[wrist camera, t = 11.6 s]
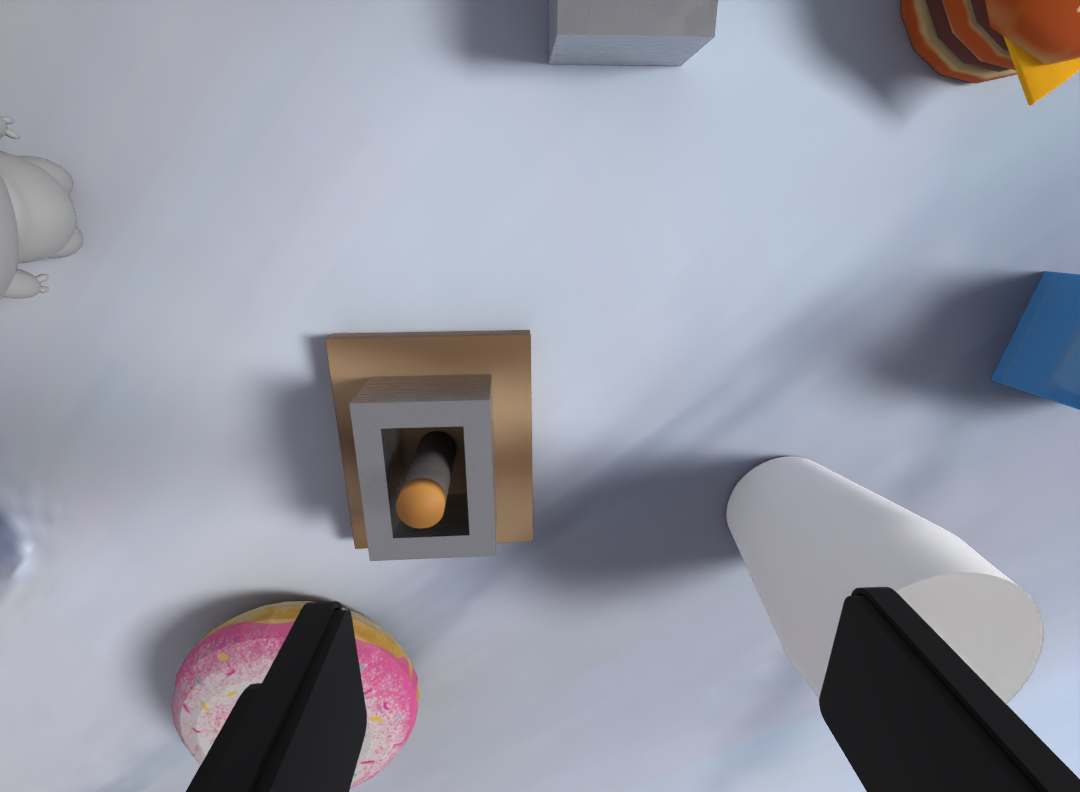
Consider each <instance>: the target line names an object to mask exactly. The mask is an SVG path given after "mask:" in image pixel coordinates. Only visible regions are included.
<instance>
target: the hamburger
mask: <svg viewBox="0 0 1080 792" xmlns="http://www.w3.org/2000/svg"><path fill="white" fill-rule="evenodd" d="M901 14H902V17H903V20H904V23H905V26H906V28H907V31H908V34H909V37H910V40H911V43H912V46H913V48H914V50H915V51H916V52H917V53H918V54H919V55H920V56H921V57H922V58H924V59H925V60H926V61H927V62H928V63H929V64H930V65H931V66H932V67H933V68H934V69H935V70H936V71H937V72H938V73H939V74H941V75H944V76H948V77H952V78H956V79H960V80H963V81H967V82H971V83H980V82H984V81H989V80H993V79H998V78H1003V77H1007V76H1012V75H1016V74H1018V77H1019V80H1020V82H1021V85H1022V88H1023V91H1024V93H1025V96H1026V99H1027V101H1028V104H1029V105H1032V104H1034V103H1035V102H1037V101H1038V100H1039V99H1041V98H1042V97H1044V96H1045V95H1047V94H1048V93H1049V92H1051V91H1052V90H1054V89H1055V88H1056V87H1058V86H1059V85H1061V84H1062V83H1064V82H1065V81H1067V80H1068V79H1069V78H1070V77H1071V76H1073V75H1074V74H1075V73H1076V72H1077V71H1079V70H1080V0H901Z"/></svg>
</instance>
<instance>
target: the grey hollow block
mask: <svg viewBox="0 0 1080 792" xmlns="http://www.w3.org/2000/svg"><path fill="white" fill-rule="evenodd" d="M717 3H718V0H549V64H566V65H650V66H681V65H682V64H684V63H685V62H686V61H687V60H688V59H689V58H691V57H692V56H693V55H694V54H695V53H696V52H697V51H699V50H700V49H701V48H702V47H703V46H704V45H706V44H707V43H708V42H709V41H710V40H711V39H713V38H714V37H715V26H716V14H717Z"/></svg>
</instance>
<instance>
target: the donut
mask: <svg viewBox="0 0 1080 792" xmlns="http://www.w3.org/2000/svg"><path fill="white" fill-rule="evenodd" d="M307 602H312V601H291V602H281V603H275V604H270V605H265V606H261V607H258V608H255V609H253V610H250V611H247V612H245V613H242V614H240V615H238V616H236V617H234V618H232V619H230V620H228V621H226V622H225V623H223V624H221V625H220V626H218V627H217V628H215V629H213V630H212V631H210V632H209V633H208V634H207V635H206V636H205V637H204V638H203V639H202V640H201V641H200V642H199V643H198V644H197V645H196V646H195V647H194V649H193V650H192V651H191V652H190V654H189V655H188V656H187V658H186V659H185V661H184V662H183V664H182V666H181V668H180V670H179V672H178V674H177V677H176V683H175V690H174V696H173V704H172V711H173V718H174V724H175V727H176V729H177V731H178V733H179V736H180V738H181V740H182V742H183V743H184V745H185V746H186V748H187V749H188V750H189V752H190V753H191V754H192V756H193V757H194V758H195V760H196V761H197V762H198V764H199V765H200V766H201V764H202V762H203V760H204V759H205V757H206V755H207V753H208V751H209V750H210V748H211V746H212V744H213V743H214V741H215V739H216V737H217V735H218V734H219V732H220V730H221V728H222V727H223V725H224V723H225V721H226V720H227V718H228V716H229V714H230V712H231V711H232V709H233V707H234V705H235V704H236V702H237V700H238V698H239V697H240V695H241V694H242V692H243V691H244V690H245V689H246V688H247V687H248V686H249V685H250V684H255V683H262V682H263V680H264V678H265V676H266V674H267V673H268V671H269V669H270V667H271V665H272V663H273V661H274V659H275V658H276V656H277V654H278V652H279V650H280V648H281V646H282V644H283V643H284V641H285V639H286V637H287V635H288V633H289V631H290V629H291V628H292V626H293V624H294V622H295V620H296V618H297V616H298V614H299V612H300V611H301V609H302V607H303V606H304V604H306V603H307ZM342 610H348V609H345V608H342ZM350 612H351V615H352V621H353V627H354V634H355V640H356V647H357V653H358V660H359V666H360V673H361V679H362V685H363V692H364V698H365V705H366V711H367V726H366V733H365V737H364V741H363V744H362V748H361V751H360V755H359V758H358V762H357V765H356V769H355V772H354V776H353V779H352V783H351V786H350V788H352V787H354V786H356V785H358V784H360V783H362V782H364V781H366V780H368V779H370V778H372V777H373V776H374V775H375V774H377V773H378V772H379V771H380V770H382V769H383V768H384V767H385V766H387V764H388V763H389V762H390V761H391V760H392V758H393V757H394V756H395V755H396V753H397V752H398V751H399V750H400V748H401V747H402V746H403V744H404V743H405V742H406V740H407V739H408V737H409V735H410V733H411V731H412V729H413V727H414V725H415V721H416V715H417V710H418V703H419V695H420V691H419V685H418V678H417V675H416V672H415V670H414V668H413V665H412V663H411V661H410V659H409V657H408V655H407V653H406V651H405V649H404V648H403V647H402V646H401V645H400V644H399V642H398V641H397V640H396V639H395V638H394V637H393V636H392V635H391V634H390V633H389V632H387V631H386V630H385V629H383V628H382V627H381V626H379V625H378V624H377V623H375V622H374V621H372V620H370V619H368V618H366V617H364V616H362V615H360V614H358V613H357V612H354V611H351V610H350Z"/></svg>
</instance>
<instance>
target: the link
mask: <svg viewBox="0 0 1080 792" xmlns="http://www.w3.org/2000/svg"><path fill="white" fill-rule="evenodd" d="M349 405H350V413H351V420H352V428H353V436H354V443H355V451H356V459H357V466H358V474H359V481H360V489H361V497H362V504H363V512H364V520H365V527H366V535H367V542H368V550H369V558H370V561H381V560H404V559H427V558H450V557H474V556H496V526H497V501H496V473H495V445H494V417H493V389H492V374H468V375H424V376H379V377H371V378H370V379H369V381H368V382H367V383H366V384H365V385H364V387H363V388H362V389H361V390H360V391H359V393H358V394H357V395H356V396H355V397H354V399H353V400H352V401H351V402H350V403H349ZM457 426H464V444H465V462H466V480H467V494H447V499H446V504H445V509H444V513H443V516H442V518H441V519H440V521H439V522H438V523H436V524H435V525H433V526H431V527H428V528H414V527H411V526H408V525H407V524H405V523H404V522H403V521H402V520H401V519H400V518H399V516H398V514H397V511H396V503H397V500H398V497H399V494H400V492H401V489H402V486H403V484H404V481H405V479H406V472H405V461H404V451H403V441H402V431H401V428H422V427H457Z"/></svg>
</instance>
